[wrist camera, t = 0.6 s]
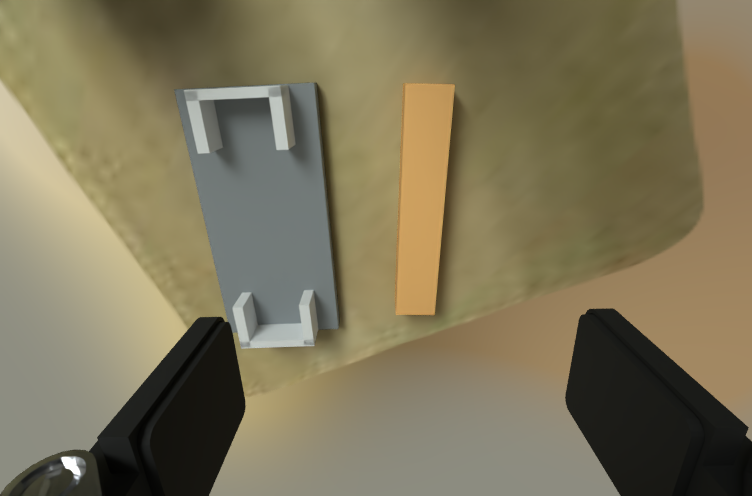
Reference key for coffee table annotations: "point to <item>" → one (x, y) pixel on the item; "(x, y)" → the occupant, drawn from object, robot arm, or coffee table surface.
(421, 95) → the slat
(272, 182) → the cap board
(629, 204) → the coffee table surface
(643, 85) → the coffee table surface
